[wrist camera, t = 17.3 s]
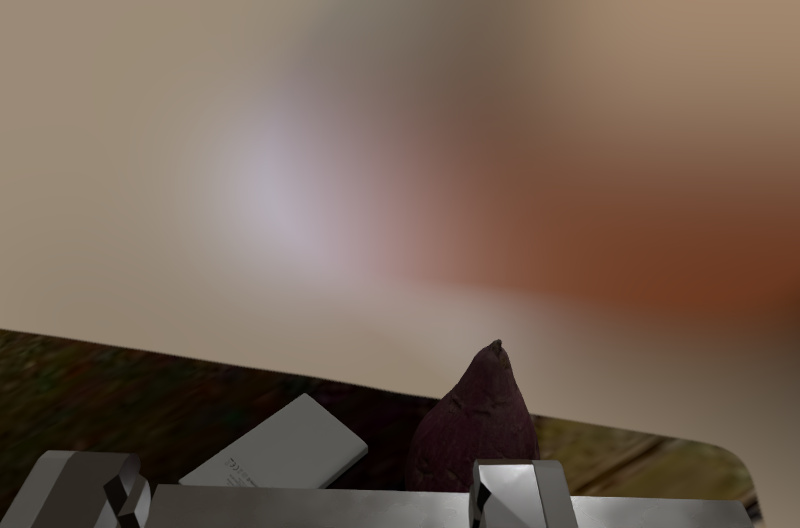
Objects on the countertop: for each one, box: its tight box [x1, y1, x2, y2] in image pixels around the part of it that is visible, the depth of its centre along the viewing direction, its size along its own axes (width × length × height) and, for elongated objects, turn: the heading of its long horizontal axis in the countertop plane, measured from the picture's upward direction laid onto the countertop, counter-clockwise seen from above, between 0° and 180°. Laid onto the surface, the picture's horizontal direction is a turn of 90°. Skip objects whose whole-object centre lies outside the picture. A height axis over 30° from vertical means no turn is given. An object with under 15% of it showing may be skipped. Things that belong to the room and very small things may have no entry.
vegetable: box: [405, 339, 540, 493], centre depth 44 cm, size 10×10×15 cm
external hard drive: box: [178, 393, 368, 489], centre depth 47 cm, size 2×8×12 cm
